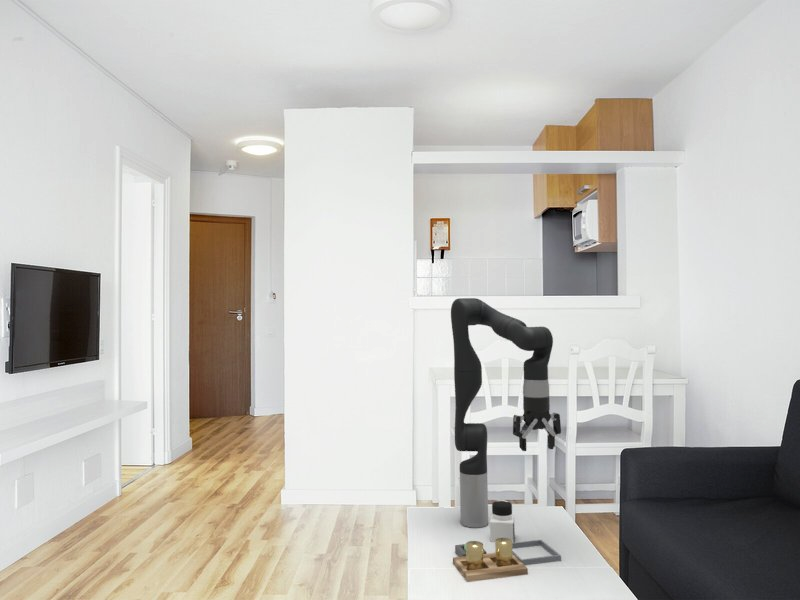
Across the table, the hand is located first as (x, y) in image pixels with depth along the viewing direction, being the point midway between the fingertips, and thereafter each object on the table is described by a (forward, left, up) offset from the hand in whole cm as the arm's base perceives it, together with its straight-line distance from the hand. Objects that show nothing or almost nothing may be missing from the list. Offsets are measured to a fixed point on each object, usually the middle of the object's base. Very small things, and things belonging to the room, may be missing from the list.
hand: (537, 449), depth 179 cm
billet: (+9, -23, -29) cm, 38 cm away
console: (-1, -21, -30) cm, 37 cm away
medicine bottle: (-11, -7, -30) cm, 33 cm away
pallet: (+9, -19, -30) cm, 37 cm away
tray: (+3, -4, -30) cm, 30 cm away
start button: (-1, -21, -29) cm, 36 cm away
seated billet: (+9, -15, -29) cm, 34 cm away
